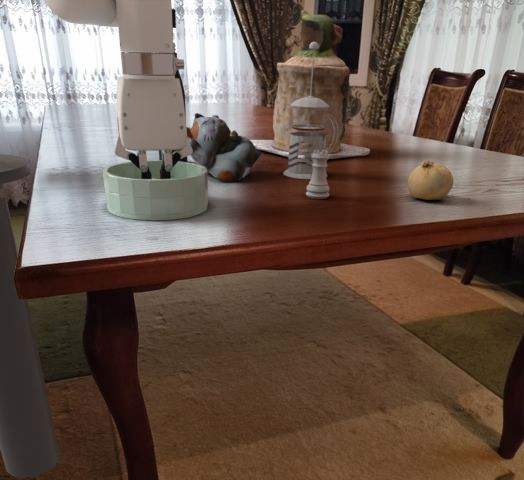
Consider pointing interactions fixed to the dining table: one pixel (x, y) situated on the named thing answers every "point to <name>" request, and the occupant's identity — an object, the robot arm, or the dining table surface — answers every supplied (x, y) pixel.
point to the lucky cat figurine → (221, 149)
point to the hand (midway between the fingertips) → (157, 194)
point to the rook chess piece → (318, 176)
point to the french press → (307, 135)
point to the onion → (430, 181)
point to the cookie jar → (313, 90)
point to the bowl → (156, 191)
